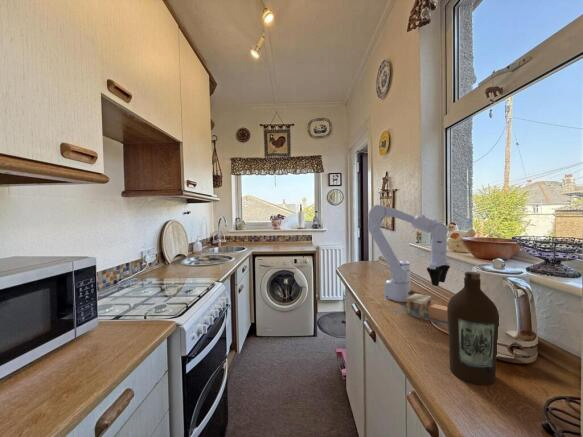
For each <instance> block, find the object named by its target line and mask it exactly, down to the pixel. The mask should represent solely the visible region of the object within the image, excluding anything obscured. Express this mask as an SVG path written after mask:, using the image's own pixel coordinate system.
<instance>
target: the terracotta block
mask: <svg viewBox="0 0 583 437" xmlns="http://www.w3.org/2000/svg"><path fill="white" fill-rule="evenodd" d="M447 307H448V306H445V305H441V304H436V303H431V305H430V306H428V317H430V318H434V319H438V320H442V321H446V322H448V315H447Z"/></svg>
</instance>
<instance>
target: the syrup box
mask: <svg viewBox="0 0 583 437" xmlns="http://www.w3.org/2000/svg"><path fill="white" fill-rule="evenodd" d="M399 261H400V263H401V264H402V265H403V266H405V267H406V269H407V280H408V293H411V292H412V291H411V289H412V288H411V286H412V285H411V263H410V262H409V261H408V260H399Z"/></svg>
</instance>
